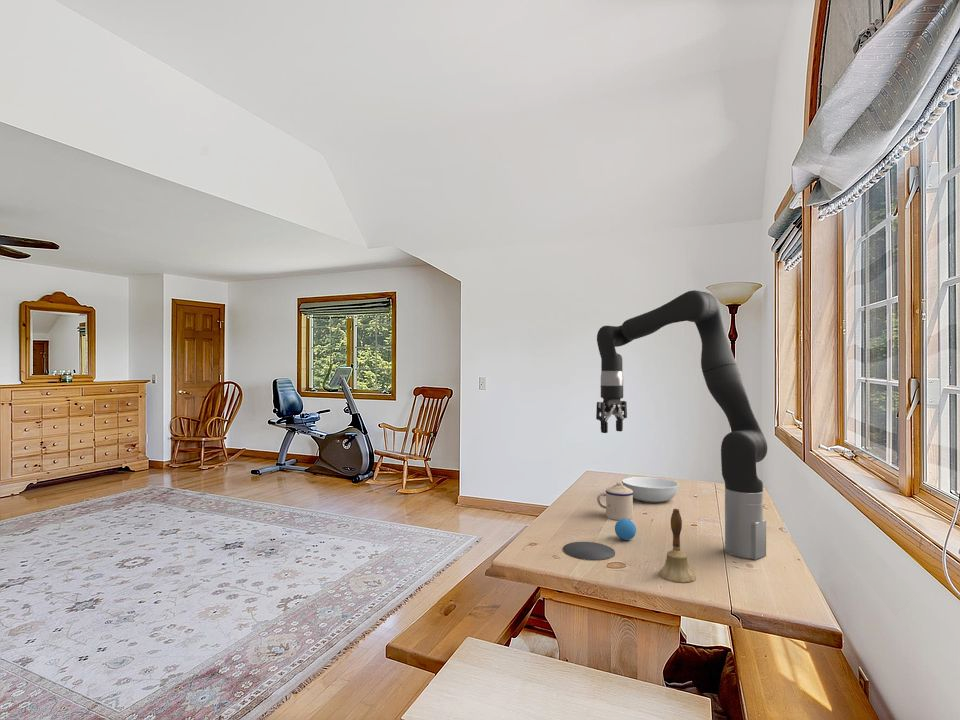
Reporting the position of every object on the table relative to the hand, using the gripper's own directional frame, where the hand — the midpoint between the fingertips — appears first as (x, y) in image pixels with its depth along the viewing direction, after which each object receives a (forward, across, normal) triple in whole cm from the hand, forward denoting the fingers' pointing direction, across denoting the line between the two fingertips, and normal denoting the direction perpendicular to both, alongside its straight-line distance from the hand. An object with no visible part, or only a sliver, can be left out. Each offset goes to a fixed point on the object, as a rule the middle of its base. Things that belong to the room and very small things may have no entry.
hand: (611, 432), depth 175 cm
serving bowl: (+29, +31, +5) cm, 42 cm away
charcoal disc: (+29, -33, -16) cm, 47 cm away
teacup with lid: (+29, 0, -1) cm, 29 cm away
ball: (+26, -17, -17) cm, 35 cm away
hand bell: (+29, -31, -40) cm, 58 cm away
